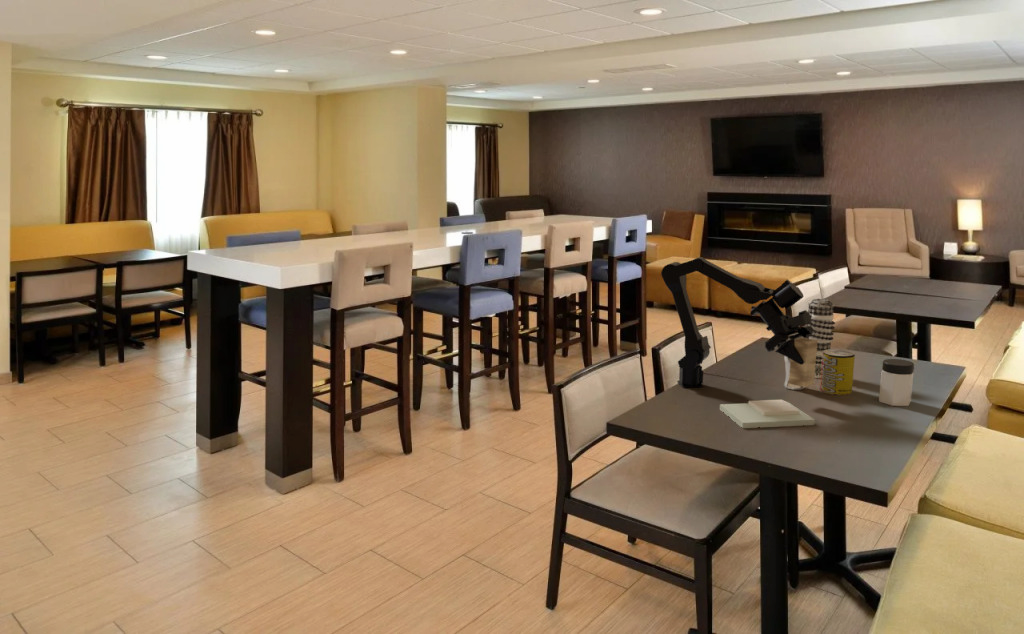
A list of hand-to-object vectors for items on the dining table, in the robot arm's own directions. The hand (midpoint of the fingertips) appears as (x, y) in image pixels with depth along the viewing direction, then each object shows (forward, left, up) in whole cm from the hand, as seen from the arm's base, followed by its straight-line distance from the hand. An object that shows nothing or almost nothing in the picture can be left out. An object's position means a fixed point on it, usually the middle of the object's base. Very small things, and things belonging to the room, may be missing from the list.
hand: (807, 362), depth 221 cm
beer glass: (+5, +17, -13) cm, 22 cm away
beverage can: (+16, +12, -13) cm, 24 cm away
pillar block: (-1, +1, -7) cm, 7 cm away
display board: (-16, -9, -13) cm, 22 cm away
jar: (+27, -1, -13) cm, 30 cm away
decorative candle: (+19, +30, -13) cm, 38 cm away
